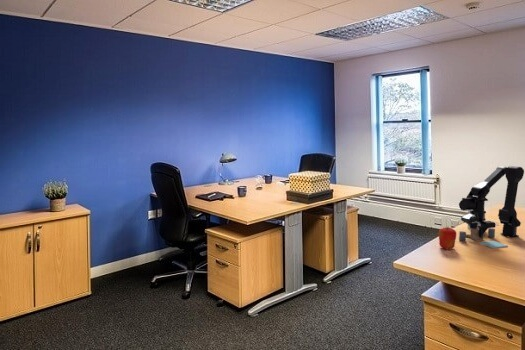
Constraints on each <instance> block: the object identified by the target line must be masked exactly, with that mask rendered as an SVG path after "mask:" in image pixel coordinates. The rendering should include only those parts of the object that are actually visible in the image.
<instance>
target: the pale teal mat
mask: <svg viewBox="0 0 525 350" xmlns="http://www.w3.org/2000/svg"><path fill="white" fill-rule="evenodd" d="M478 244H480V245H483V246H486V247H488V248H491V249H499V248H508V244H504V243H501V242H499V241H495V240H489V241H479V243H478Z"/></svg>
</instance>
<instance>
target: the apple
mask: <svg viewBox="0 0 525 350" xmlns="http://www.w3.org/2000/svg"><path fill="white" fill-rule="evenodd" d="M456 238H457V231H456V229H453V227H452V228H451V227H449V226H447V227H443V228H440V229H439V230H438V243H439V246H440V247H441V249H444V250H453V249H454V247H456Z"/></svg>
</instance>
